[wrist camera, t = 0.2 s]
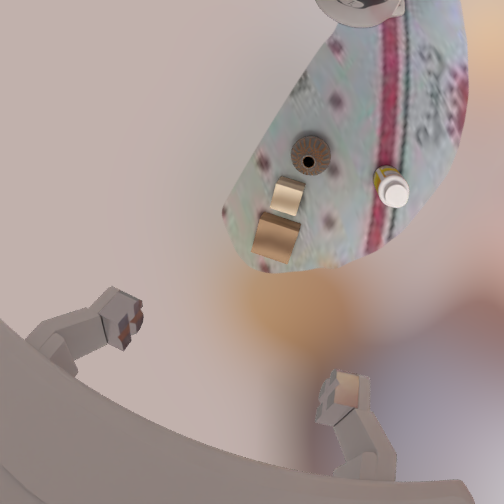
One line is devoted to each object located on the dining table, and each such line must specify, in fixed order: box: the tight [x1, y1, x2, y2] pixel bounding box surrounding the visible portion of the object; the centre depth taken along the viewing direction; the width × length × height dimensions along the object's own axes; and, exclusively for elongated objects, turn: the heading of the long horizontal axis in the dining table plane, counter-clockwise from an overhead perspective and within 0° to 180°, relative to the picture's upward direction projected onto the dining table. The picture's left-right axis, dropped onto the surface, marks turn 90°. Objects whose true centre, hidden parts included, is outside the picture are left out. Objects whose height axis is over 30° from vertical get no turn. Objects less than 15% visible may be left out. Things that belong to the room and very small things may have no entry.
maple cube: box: [270, 176, 305, 216], centre depth 54 cm, size 5×5×5 cm
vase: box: [291, 136, 331, 175], centre depth 47 cm, size 7×7×9 cm
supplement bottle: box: [373, 165, 409, 208], centre depth 45 cm, size 6×6×10 cm
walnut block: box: [251, 212, 301, 264], centre depth 60 cm, size 8×8×4 cm
